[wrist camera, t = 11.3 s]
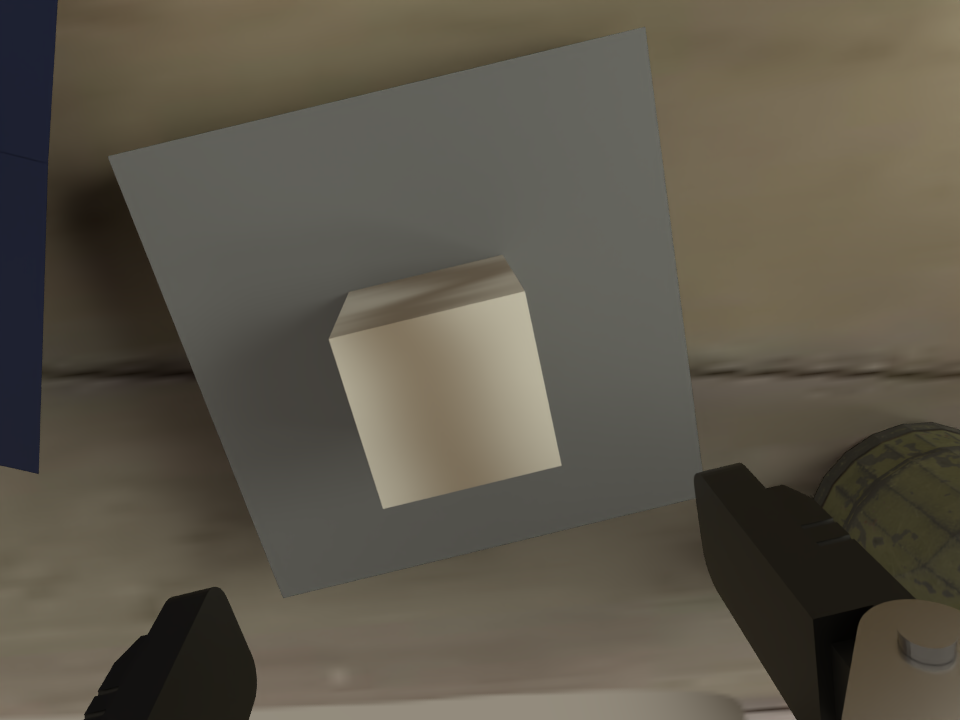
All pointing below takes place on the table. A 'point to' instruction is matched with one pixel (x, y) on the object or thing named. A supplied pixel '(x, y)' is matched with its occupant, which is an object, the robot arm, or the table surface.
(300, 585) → the charcoal plinth
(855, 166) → the table surface
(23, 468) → the papers
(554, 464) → the cream cube
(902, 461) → the thermos
